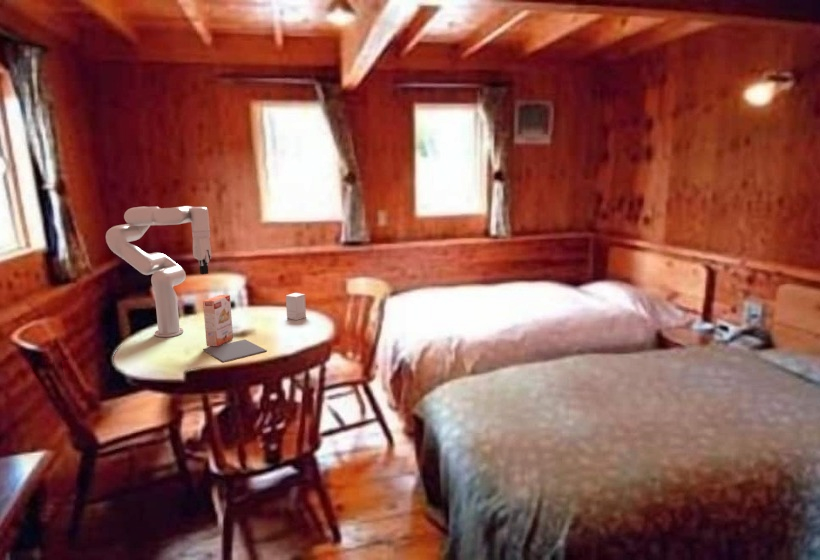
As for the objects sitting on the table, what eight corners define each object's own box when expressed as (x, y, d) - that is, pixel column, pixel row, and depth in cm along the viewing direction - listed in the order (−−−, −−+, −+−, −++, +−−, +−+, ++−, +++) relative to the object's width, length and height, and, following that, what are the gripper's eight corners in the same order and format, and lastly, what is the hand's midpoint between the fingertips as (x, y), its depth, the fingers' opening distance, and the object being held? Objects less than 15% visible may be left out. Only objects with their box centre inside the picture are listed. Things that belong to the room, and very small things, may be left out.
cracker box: (218, 347, 249) (214, 300, 245) (206, 346, 250) (201, 300, 246) (234, 338, 262) (230, 294, 258) (222, 338, 263) (218, 294, 260)
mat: (202, 350, 246) (202, 348, 246) (245, 340, 260) (245, 339, 260) (223, 362, 232) (223, 360, 232) (266, 351, 246) (266, 350, 245)
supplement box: (306, 317, 298) (305, 294, 296) (296, 320, 292) (295, 297, 290) (296, 315, 302) (295, 292, 300) (286, 318, 296) (285, 295, 293)
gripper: (186, 233, 258) (189, 272, 262) (199, 236, 247) (203, 277, 251) (202, 232, 263) (205, 270, 267) (216, 235, 252) (219, 275, 256)
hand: (204, 273), depth 259 cm, fingers closed
